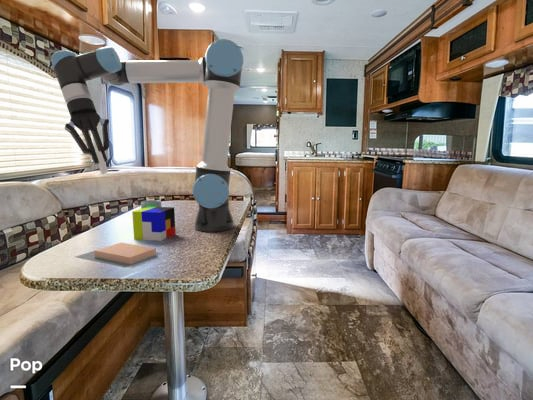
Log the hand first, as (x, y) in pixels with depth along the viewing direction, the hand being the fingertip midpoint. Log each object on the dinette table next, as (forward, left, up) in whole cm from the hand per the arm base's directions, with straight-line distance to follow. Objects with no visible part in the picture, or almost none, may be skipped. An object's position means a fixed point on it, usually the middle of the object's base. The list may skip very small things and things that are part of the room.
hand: (104, 172), depth 104 cm
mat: (-4, +16, -23) cm, 28 cm away
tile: (-1, +13, -22) cm, 25 cm away
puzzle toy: (-14, -3, -23) cm, 28 cm away
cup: (-13, -22, -23) cm, 35 cm away
